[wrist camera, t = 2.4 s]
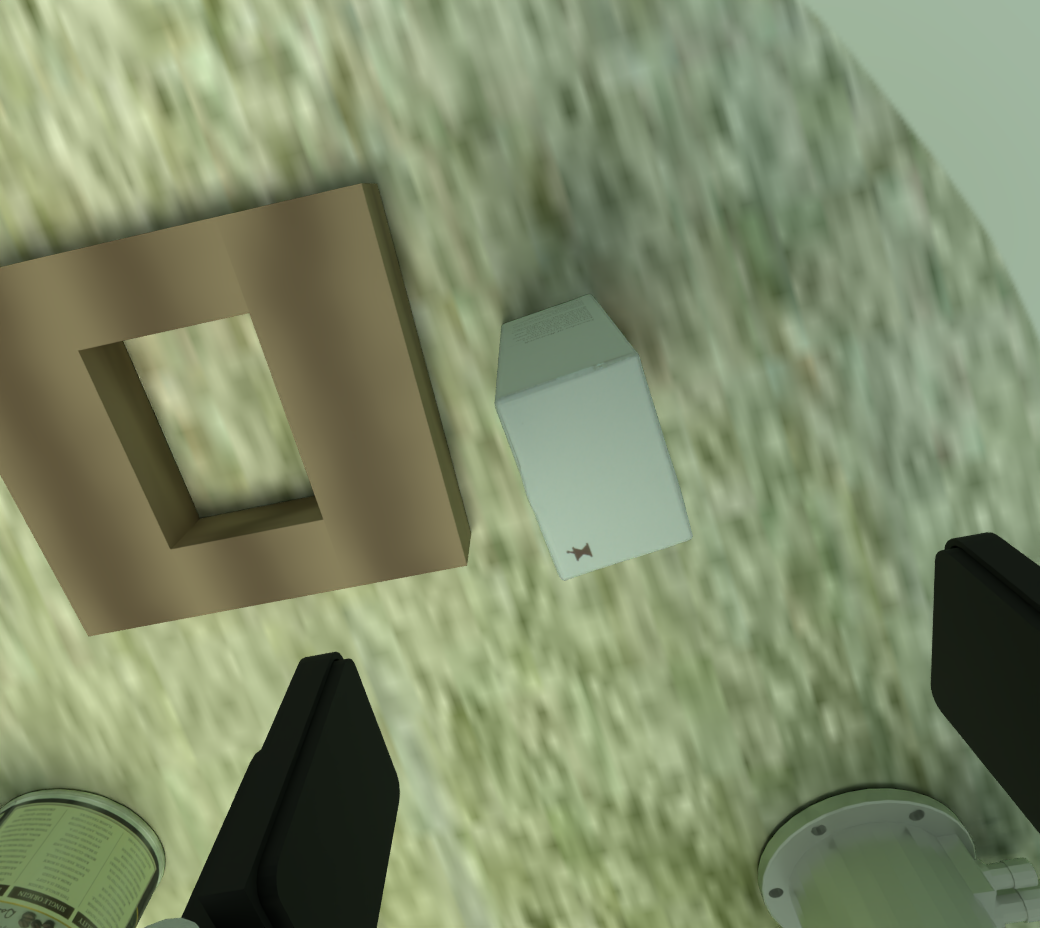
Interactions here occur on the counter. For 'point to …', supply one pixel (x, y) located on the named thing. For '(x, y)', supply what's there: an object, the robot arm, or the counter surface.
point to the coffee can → (75, 862)
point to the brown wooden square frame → (301, 387)
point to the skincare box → (587, 438)
